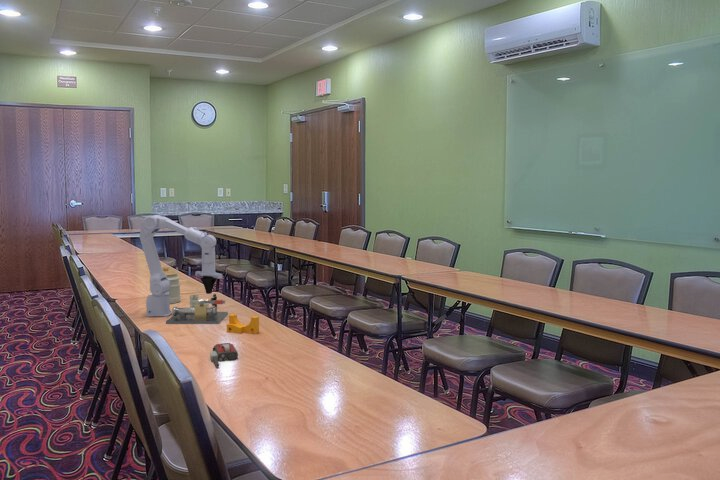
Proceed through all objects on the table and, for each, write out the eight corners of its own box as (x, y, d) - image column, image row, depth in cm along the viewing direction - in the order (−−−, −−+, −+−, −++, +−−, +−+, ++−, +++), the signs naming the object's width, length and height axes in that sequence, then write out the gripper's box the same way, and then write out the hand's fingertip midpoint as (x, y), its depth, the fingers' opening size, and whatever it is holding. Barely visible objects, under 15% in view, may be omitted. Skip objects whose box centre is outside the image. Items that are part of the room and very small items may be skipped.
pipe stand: (165, 323, 245) (165, 309, 245) (178, 314, 263) (177, 300, 263) (219, 323, 246) (218, 309, 245) (227, 313, 264) (227, 300, 263)
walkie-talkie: (207, 352, 206) (214, 370, 187) (206, 340, 206) (213, 356, 187) (232, 350, 209) (242, 367, 191) (232, 338, 209) (241, 353, 190)
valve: (190, 311, 269) (217, 309, 274) (190, 297, 268) (217, 295, 273) (188, 308, 275) (214, 306, 280) (188, 294, 274) (214, 292, 279)
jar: (185, 301, 290) (184, 266, 288) (161, 305, 281) (160, 268, 279) (172, 298, 299) (171, 263, 297) (147, 301, 290) (146, 266, 288)
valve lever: (199, 305, 252) (199, 300, 252) (200, 304, 254) (200, 299, 254) (224, 305, 252) (224, 300, 252) (225, 304, 254) (225, 299, 254)
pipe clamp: (226, 332, 233) (226, 316, 232) (232, 329, 237) (232, 313, 236) (253, 335, 228) (253, 318, 228) (259, 332, 232) (258, 316, 232)
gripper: (189, 262, 259) (190, 293, 261) (213, 265, 252) (214, 296, 253) (201, 260, 265) (202, 290, 267) (225, 263, 258) (226, 294, 259)
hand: (209, 293), depth 260 cm, fingers closed
